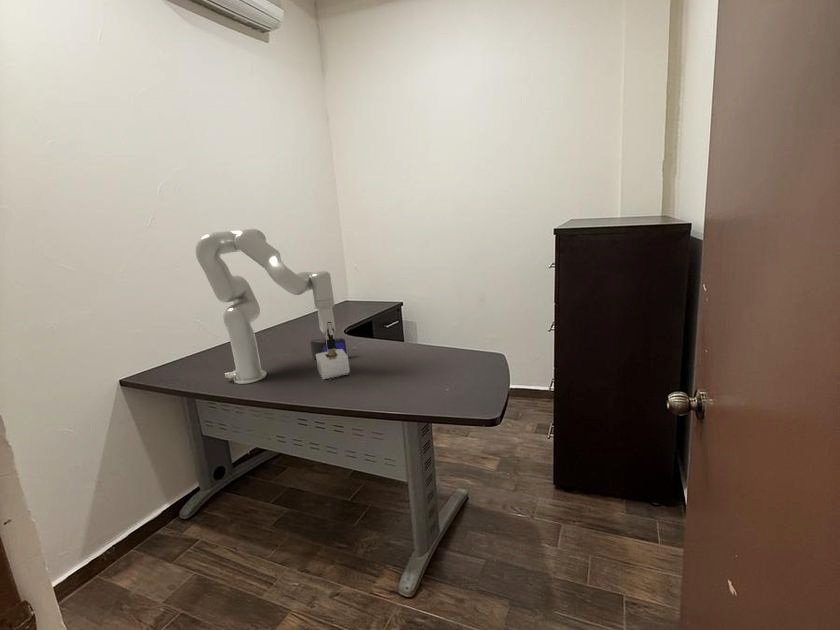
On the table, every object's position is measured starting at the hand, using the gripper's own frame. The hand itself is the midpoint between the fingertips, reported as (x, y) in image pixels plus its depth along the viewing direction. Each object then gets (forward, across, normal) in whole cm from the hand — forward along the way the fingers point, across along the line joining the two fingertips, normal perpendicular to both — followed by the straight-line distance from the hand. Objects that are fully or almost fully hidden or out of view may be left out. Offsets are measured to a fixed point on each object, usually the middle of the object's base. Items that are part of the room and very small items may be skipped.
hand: (330, 346), depth 167 cm
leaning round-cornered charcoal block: (+12, -20, +2) cm, 23 cm away
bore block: (+11, 0, 0) cm, 11 cm away
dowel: (+4, 0, 0) cm, 4 cm away
